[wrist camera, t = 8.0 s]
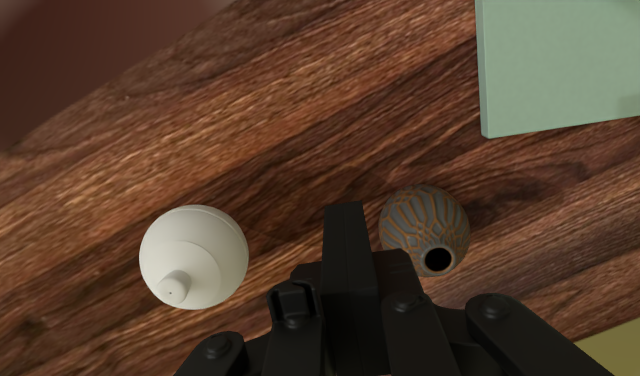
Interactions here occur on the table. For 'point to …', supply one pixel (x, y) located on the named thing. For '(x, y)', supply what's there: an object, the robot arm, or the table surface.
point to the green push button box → (556, 63)
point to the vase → (426, 228)
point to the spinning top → (194, 257)
